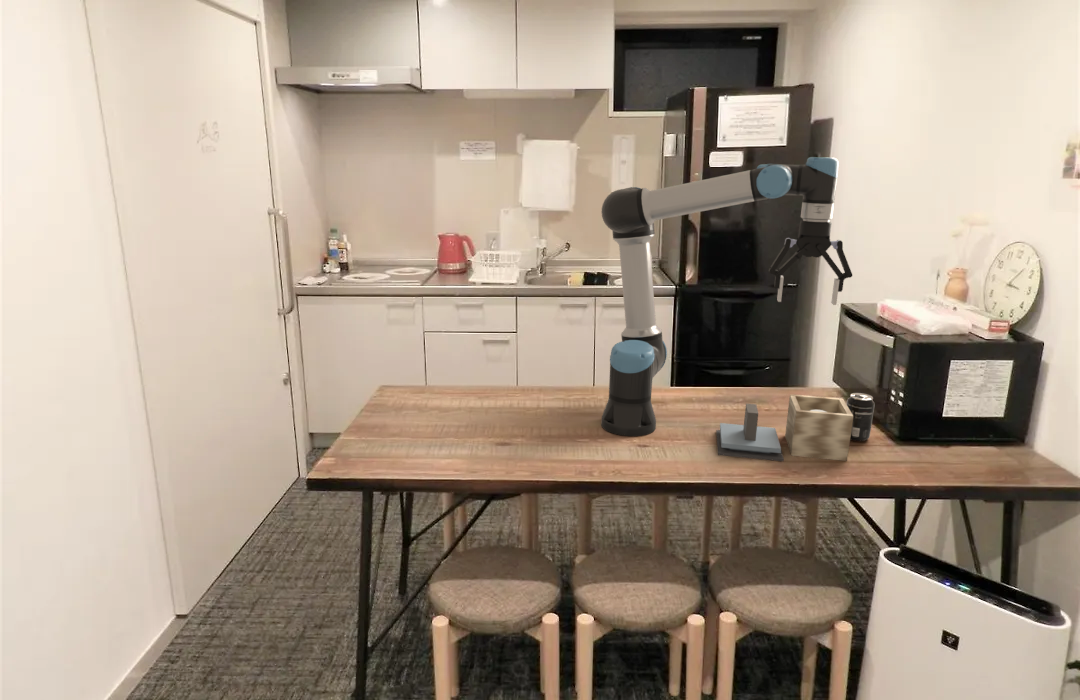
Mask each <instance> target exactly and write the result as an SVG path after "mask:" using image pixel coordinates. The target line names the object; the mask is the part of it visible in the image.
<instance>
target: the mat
mask: <svg viewBox="0 0 1080 700" xmlns="http://www.w3.org/2000/svg"><path fill="white" fill-rule="evenodd" d="M715 434H716V447H717V448H716V449H717V455H718V456H724V457H736V458H747V459H755V460H766V461H774V460H775V461H776V462H777V461H778V462H784V461H785V458H784V454H783V451H782V450H781V453H773V452H770V453H762V452H751V451H741V450H731V449H730V448H722V447H721V435H720V429H716V431H715Z"/></svg>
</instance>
